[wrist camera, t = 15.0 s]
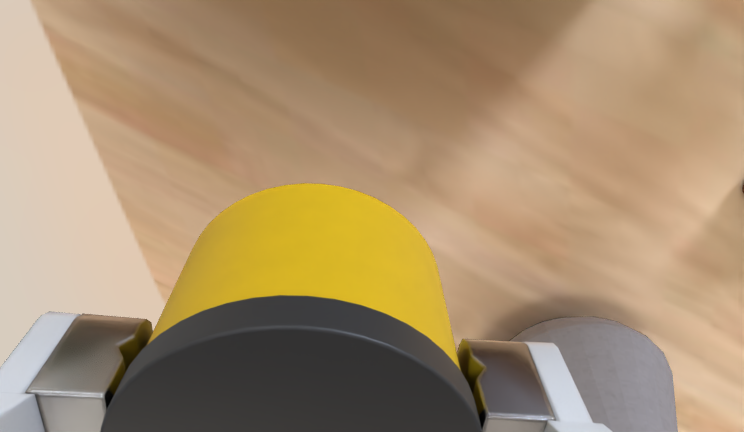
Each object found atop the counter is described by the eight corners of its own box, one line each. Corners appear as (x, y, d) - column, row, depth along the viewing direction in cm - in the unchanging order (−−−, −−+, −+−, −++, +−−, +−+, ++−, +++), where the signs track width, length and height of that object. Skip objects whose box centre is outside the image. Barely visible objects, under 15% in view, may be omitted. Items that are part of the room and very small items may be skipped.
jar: (171, 164, 9) (66, 312, 6) (467, 189, 9) (526, 342, 6) (189, 381, 12) (122, 572, 8) (424, 394, 12) (449, 582, 9)
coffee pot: (678, 373, 36) (865, 644, 23) (524, 449, 39) (609, 724, 26) (506, 128, 27) (646, 336, 14) (327, 252, 30) (306, 514, 17)
